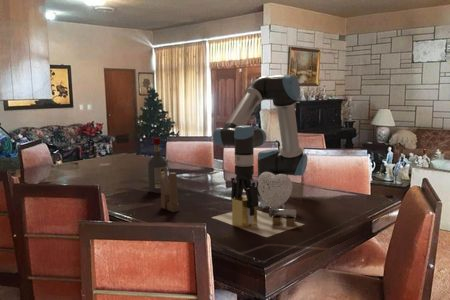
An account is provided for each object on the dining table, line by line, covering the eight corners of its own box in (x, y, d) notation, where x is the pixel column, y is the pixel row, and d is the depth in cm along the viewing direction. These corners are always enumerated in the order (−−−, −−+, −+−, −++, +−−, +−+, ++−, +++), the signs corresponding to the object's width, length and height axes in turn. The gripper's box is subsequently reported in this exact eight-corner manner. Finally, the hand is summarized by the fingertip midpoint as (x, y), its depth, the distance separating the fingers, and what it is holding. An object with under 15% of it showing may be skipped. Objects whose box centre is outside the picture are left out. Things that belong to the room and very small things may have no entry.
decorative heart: (297, 210, 183) (297, 173, 181) (284, 215, 175) (284, 177, 173) (265, 203, 195) (265, 169, 193) (252, 208, 187) (251, 172, 185)
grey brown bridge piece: (269, 225, 160) (269, 208, 159) (270, 221, 165) (270, 205, 164) (295, 227, 157) (295, 210, 156) (296, 223, 162) (296, 206, 161)
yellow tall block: (246, 220, 166) (246, 194, 164) (257, 224, 161) (256, 197, 160) (232, 225, 161) (231, 198, 159) (242, 228, 156) (242, 201, 155)
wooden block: (167, 206, 193) (166, 169, 190) (179, 211, 185) (178, 173, 182) (161, 207, 190) (159, 170, 188) (172, 212, 182) (171, 174, 180)
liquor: (147, 191, 224) (144, 138, 220) (160, 188, 231) (158, 137, 227) (157, 193, 218) (155, 139, 214) (170, 190, 225) (168, 138, 221)
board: (248, 209, 186) (248, 207, 185) (304, 226, 160) (304, 224, 160) (211, 219, 172) (211, 217, 172) (266, 239, 146) (266, 237, 146)
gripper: (221, 163, 163) (222, 217, 166) (254, 169, 148) (254, 229, 151) (235, 160, 167) (236, 214, 171) (268, 166, 153) (268, 224, 156)
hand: (244, 221), depth 161 cm, fingers closed on yellow tall block, 6 cm apart
